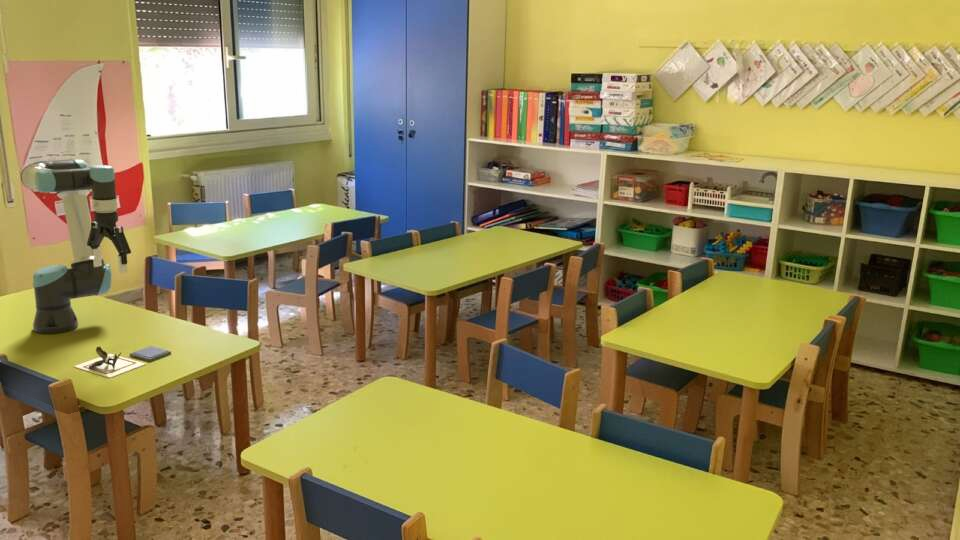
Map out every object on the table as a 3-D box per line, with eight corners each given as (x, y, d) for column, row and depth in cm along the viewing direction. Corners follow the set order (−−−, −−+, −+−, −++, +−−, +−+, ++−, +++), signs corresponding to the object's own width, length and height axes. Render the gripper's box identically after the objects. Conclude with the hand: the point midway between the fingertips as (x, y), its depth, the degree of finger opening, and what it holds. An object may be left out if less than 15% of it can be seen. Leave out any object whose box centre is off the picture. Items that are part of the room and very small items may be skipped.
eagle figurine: (123, 359, 268) (98, 353, 268) (119, 347, 263) (93, 340, 263) (112, 377, 263) (86, 370, 263) (108, 365, 258) (81, 358, 258)
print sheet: (73, 367, 264) (73, 365, 264) (110, 354, 276) (110, 353, 276) (110, 378, 256) (109, 376, 256) (145, 364, 268) (145, 363, 268)
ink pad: (129, 356, 275) (129, 352, 275) (151, 348, 283) (150, 345, 282) (149, 361, 271) (149, 358, 270) (170, 353, 278) (170, 350, 278)
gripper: (72, 207, 275) (78, 265, 281) (120, 217, 264) (124, 278, 270) (91, 204, 282) (97, 261, 288) (139, 214, 270) (143, 273, 276)
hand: (110, 269), depth 279 cm, fingers open, 13 cm apart
